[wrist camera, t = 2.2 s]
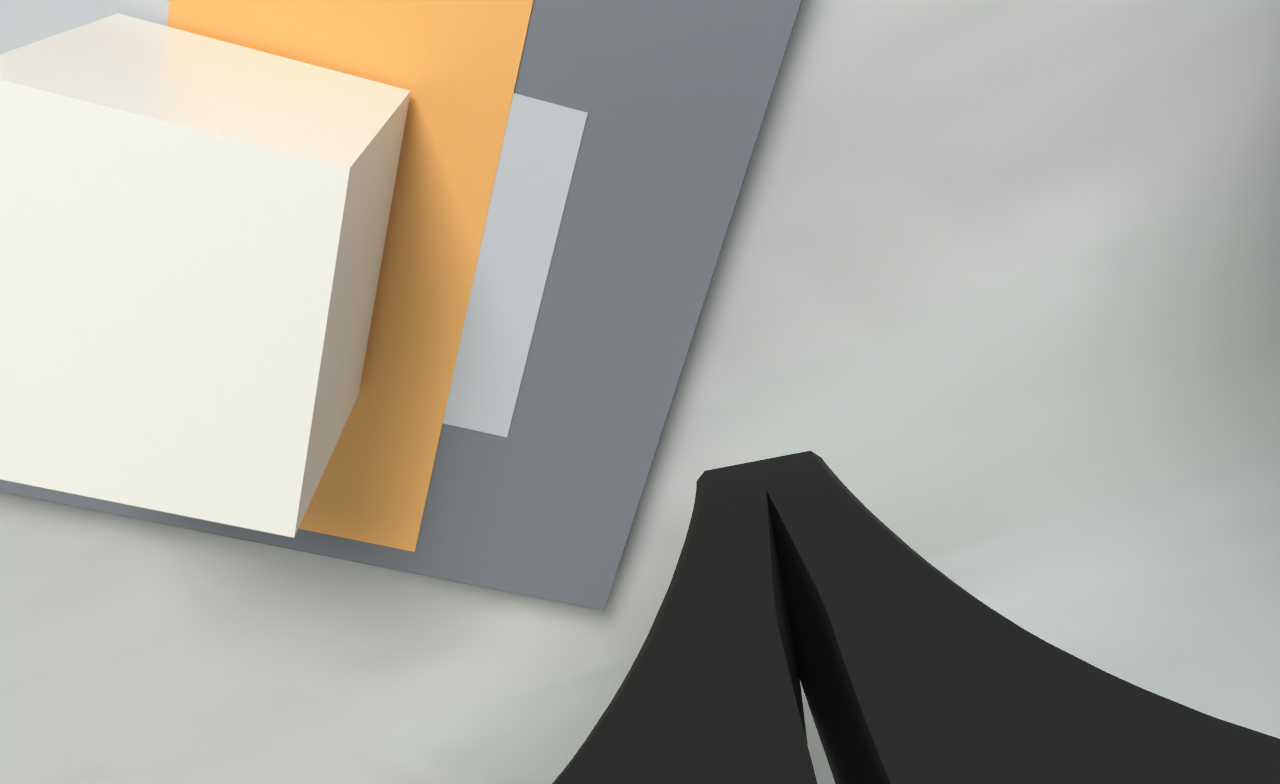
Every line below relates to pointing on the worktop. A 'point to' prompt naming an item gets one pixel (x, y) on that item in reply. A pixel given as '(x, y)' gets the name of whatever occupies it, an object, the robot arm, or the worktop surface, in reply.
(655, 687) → the robot arm
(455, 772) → the worktop surface
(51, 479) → the cream white cube
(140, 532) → the worktop surface
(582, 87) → the breaker panel
